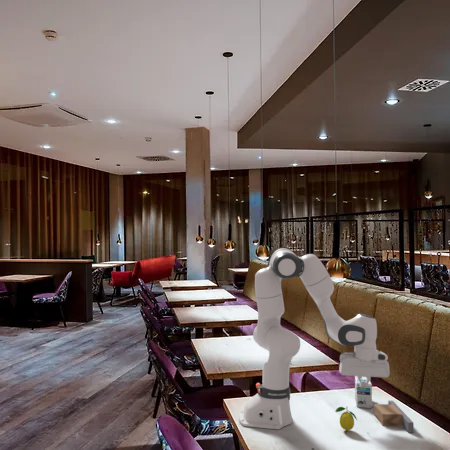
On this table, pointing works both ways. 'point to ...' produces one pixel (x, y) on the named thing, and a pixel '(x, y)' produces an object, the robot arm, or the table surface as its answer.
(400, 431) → the table surface
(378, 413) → the walnut block
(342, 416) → the lemon
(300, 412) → the table surface
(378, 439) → the table surface
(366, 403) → the light bulb box
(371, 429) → the table surface
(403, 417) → the board
